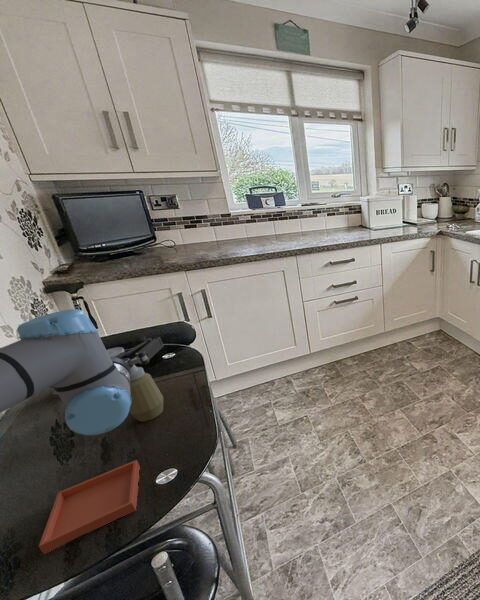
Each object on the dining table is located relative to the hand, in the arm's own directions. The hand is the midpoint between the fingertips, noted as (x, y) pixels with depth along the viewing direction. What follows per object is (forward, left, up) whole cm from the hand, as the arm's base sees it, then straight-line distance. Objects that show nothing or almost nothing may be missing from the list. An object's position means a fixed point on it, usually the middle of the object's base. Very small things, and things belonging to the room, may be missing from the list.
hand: (109, 350), depth 78 cm
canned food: (-8, +36, -24) cm, 44 cm away
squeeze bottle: (+1, +7, -24) cm, 25 cm away
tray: (-7, -21, -24) cm, 33 cm away
